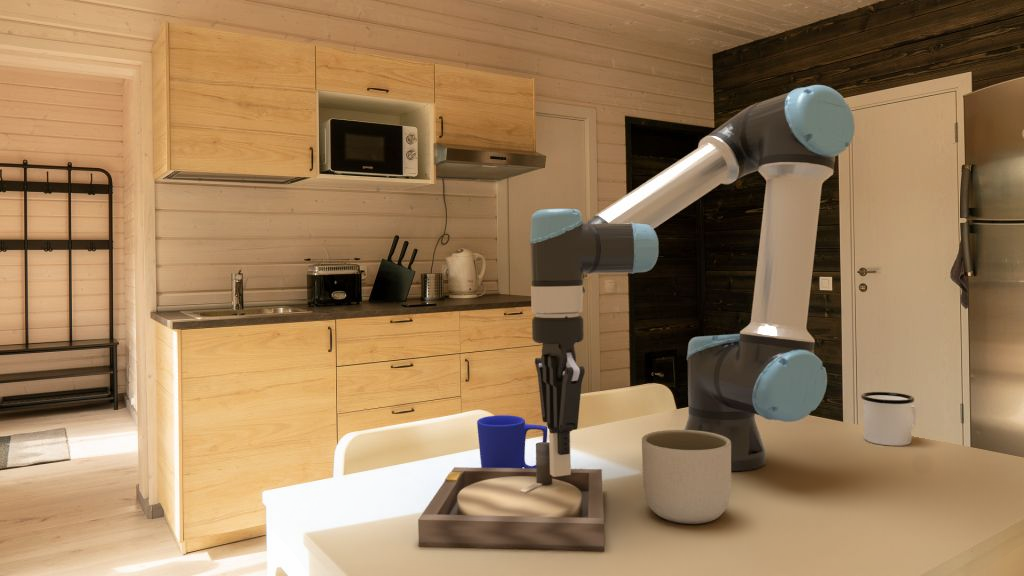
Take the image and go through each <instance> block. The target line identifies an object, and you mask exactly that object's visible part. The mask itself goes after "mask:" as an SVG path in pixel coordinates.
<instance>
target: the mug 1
mask: <svg viewBox="0 0 1024 576" xmlns="http://www.w3.org/2000/svg"><path fill="white" fill-rule="evenodd" d="M476 424H477V425H476V426H477V436H478V447H479V455H480V456H479V458H480V466H481V467H480V468H536V464H535V465H528V464H527V463H526V459H525V458H526V457H525V456H526V440H527V439H526V438H527V432H528V431H531V430H539V431H542V442H548V427H547V425H541V424H530V423H529V424H528V423H526V420H525V418H523V417H521V416H516V415H509V414H505V415H503V414H501V415H500V414H499V415H490V416H484V417H481V418H479V419H477V421H476Z"/></svg>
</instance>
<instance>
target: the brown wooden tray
mask: <svg viewBox="0 0 1024 576" xmlns="http://www.w3.org/2000/svg"><path fill="white" fill-rule="evenodd" d="M602 469H603V468H599V469H598V468H592V469H591V468H571V475H565V476H557V477H553V476H552V479H556V480H560V481H563V482H566V483H569V484H571V485H573V486H575V487H576V488H578V489H579V490H580V492H581V495H582V514H581V516H580V518H573V517H526V516H479V515H458V505H457V496H458V493H459V492H460V491H461V490H462V489H463V488H465V487H467V486H469V485H471V484H474V483H476V482H480V481H484V480H488V479H494V478H501V477H513V476H533V477H536V468H524V467H523V468H481V467H465V466H463V467H460V466H459V467H457V466H456V467H455V466H454V467H453V468H452V470H451V471H449V473H448V475H446V477H445V478H444V481H443V482H442V484H441V486H440V487H439V489H438V490H437V492H436V493H435V494H434V496H433V497H432V499H431V500H430V501H429V503H428V505H427V506H426V508H425V509H424V510H423V511H422V513H421V515H420V516H419V517H418V520H417V525H418V526H417V527H418V530H417V531H418V547H434V548H435V547H436V548H437V547H438V548H440V547H441V548H468V549H469V548H471V549H472V548H476V549H477V548H478V549H506V550H508V549H509V550H510V549H511V550H512V549H514V550H515V549H516V550H542V551H543V550H547V551H548V550H551V551H552V550H553V551H555V550H556V551H584V552H585V551H587V552H588V551H589V552H591V551H592V552H605V520H604V519H605V518H604V517H605V516H604V514H605V513H604V497H603V496H604V491H603V489H604V488H603V470H602Z"/></svg>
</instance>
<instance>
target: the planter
mask: <svg viewBox="0 0 1024 576" xmlns="http://www.w3.org/2000/svg"><path fill="white" fill-rule="evenodd" d="M641 455H642V456H641V457H642V458H641V459H642V465H641V466H642V483H643V492H644V497H645V500H646V501H647V504H648V506H649V508H650V509H651V510H652V512H654V514H656V515H657V516H658V517H660V518H662V519H664V520H666V521H669V522H674V523H678V524H687V525H689V524H690V525H697V524H698V525H700V524H706V523H710V522H713V521H715V520H716V519H718V518H720V516H721V515H723V514H724V512H725V511H726V509H727V507H728V505H729V501H730V498H731V486H732V471H731V441H730V440H729V439H728V438H726V437H724V436H722V435H719V434H715V433H710V432H704V431H695V430H685V429H667V430H659V431H657V430H656V431H652V432H650V433H646V434H645V435H643V436H642V437H641Z"/></svg>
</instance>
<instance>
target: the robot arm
mask: <svg viewBox="0 0 1024 576" xmlns="http://www.w3.org/2000/svg"><path fill="white" fill-rule="evenodd" d="M854 135H855V118H854V114H853V111H852V109H851V107H850V105H849V103H847V102H846V100H845V98H844V96H843V95H842V94H840V92H838V91H836V90H835V89H834V88H832V87H830V86H827V85H822V84H814V85H809V86H805V87H797V88H794V89H793V90H791V91H789V92H787V93H784V94H781V95H778V96H775V97H772V98H768V99H766V100H763V101H760V102H756V103H754V104H752V105H750V106H748V107H746V108H744V109H742V110H740V112H738V113H737V114H735V115H734V116H733V117H731V118H729V120H727V121H726V122H724V123H723V124H721V125H720V126H719V127H717V128H716V129H714V130H713V131H712V132H710V133H709V134H708V135H705V136H704V137H702V139H700V140H699V142H698V146H697V148H696V149H694V150H693V151H691V152H690V153H688V154H687V155H685V156H684V157H682V158H681V159H679V160H677V161H676V162H675V163H673V164H672V165H670V166H669V167H667V168H665V169H664V170H662V171H661V172H659V173H658V174H656V175H655V176H653V177H651V178H650V179H648V180H647V181H646V182H644V183H642V184H641V185H639V186H638V187H636V188H635V189H633V190H632V191H630V192H628V193H626V195H624V196H623V197H620V198H619V199H618V200H616V201H615V202H613V203H611V204H610V205H609V206H607V207H605V208H604V209H602V210H601V211H599V212H598V213H596V214H595V215H593V216H592V217H590V218H588V219H587V220H585V221H584V220H583V216H582V212H581V211H580V210H579V209H577V208H576V209H575V208H547V209H540V210H539V209H538V210H536V211H535V212H534V213H532V215H531V220H530V231H529V232H530V234H529V245H530V265H531V267H530V268H531V270H530V271H531V286H530V298H531V299H530V300H531V303H530V304H531V307H530V308H531V309H530V310H531V312H532V313H533V314H535V316H533V318H532V319H531V328H532V329H531V332H532V340H533V341H534V343H538V344H542V347H541V357H535V358H534V363H535V368H536V372H537V381H538V391H539V399H540V400H539V401H540V409H541V417H542V418H541V419H542V422H543V423H546V427H547V430H549V431H548V435H549V437H548V439H549V447H550V475H552V476H553V477H557V476H565V475H571V469H572V467H571V461H572V459H571V458H572V457H571V432H572V431H575V430H578V427H579V426H578V425H579V415H580V414H579V413H580V405H581V395H582V394H581V393H582V382H583V379H584V376H585V367H584V366H583V365H582V366H578V365H577V355H576V351H575V349H576V348H575V344H576V343H581V342H582V341H583V340H584V337H585V336H584V333H585V332H584V318H583V316H582V315H579V313H582V312H583V304H584V303H583V301H584V300H583V298H584V297H585V296H586V295H585V292H584V291H583V285H584V280H583V279H584V275H585V274H586V275H588V274H589V275H591V274H632V275H633V274H635V273H646V272H648V271H651V270H652V269H653V268H654V266H655V265H656V263H657V261H658V257H659V253H660V251H659V249H660V247H659V244H660V243H659V238H658V235H657V232H656V230H654V229H655V228H658V227H659V226H660V225H661V224H663V223H664V222H666V221H667V220H669V219H670V218H672V217H673V216H675V215H676V214H678V213H680V211H682V210H684V209H685V208H688V206H690V205H691V204H693V203H694V202H696V201H697V200H699V199H700V198H702V197H703V196H705V195H706V194H708V193H709V192H711V191H712V190H713V189H716V188H717V187H718V186H719V185H721V184H722V185H730V184H732V183H734V182H735V181H737V180H738V179H740V178H742V177H744V176H746V175H749V174H752V173H754V172H758V173H759V174H760V175H761V176H762V177H763V178H764V180H765V181H766V182H765V183H766V184H765V191H764V192H765V193H764V201H763V211H762V218H761V220H762V221H761V227H760V238H759V248H758V254H757V255H758V256H757V264H756V265H757V266H756V272H755V273H756V274H755V279H754V280H755V282H754V291H753V300H752V308H751V315H750V316H751V317H750V319H751V320H750V322H749V324H748V325H747V326H745V327H744V328H743V329H741V330H740V331H739V333H734V334H719V335H717V334H716V335H704V336H703V335H702V336H695V337H692V338H691V339H690V340H689V342H688V345H687V355H686V360H687V388H688V389H687V396H688V397H687V398H688V415H687V416H688V417H687V421H686V424H685V427H684V430H695V431H704V432H710V433H715V434H719V435H722V436H724V437H726V438H728V439H729V440H730V441H731V472H740V471H750V470H754V469H756V470H757V469H759V468H761V467H763V466H765V465H766V449H765V446H764V443H763V439H762V436H761V435H760V431H759V428H758V425H757V421H756V415H757V416H760V417H762V418H764V419H766V420H770V421H771V420H772V421H780V422H783V423H785V422H786V423H791V422H798V421H800V420H803V419H804V418H806V417H808V416H809V415H810V414H811V412H813V411H815V410H816V409H817V408H818V406H819V405H820V404H821V402H822V401H823V399H824V396H825V393H826V390H827V385H828V375H827V371H826V367H824V366H823V361H822V360H821V359H820V358H819V357H818V356H817V355H816V354H815V352H814V351H815V342H816V341H815V339H814V337H813V336H812V335H811V334H810V332H809V331H808V329H807V323H808V315H809V306H810V296H811V286H812V278H813V277H812V276H813V271H814V270H813V268H814V261H815V260H814V259H815V251H816V244H817V243H816V241H817V232H818V222H819V215H820V206H821V205H820V204H821V196H822V187H823V183H824V182H825V181H827V180H828V179H829V178H830V177H831V176H833V175H834V170H835V163H836V157H837V156H839V155H840V154H841V153H843V152H844V151H846V149H847V148H848V147H849V146H850V145H851V143H852V142H853V139H854Z"/></svg>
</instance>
